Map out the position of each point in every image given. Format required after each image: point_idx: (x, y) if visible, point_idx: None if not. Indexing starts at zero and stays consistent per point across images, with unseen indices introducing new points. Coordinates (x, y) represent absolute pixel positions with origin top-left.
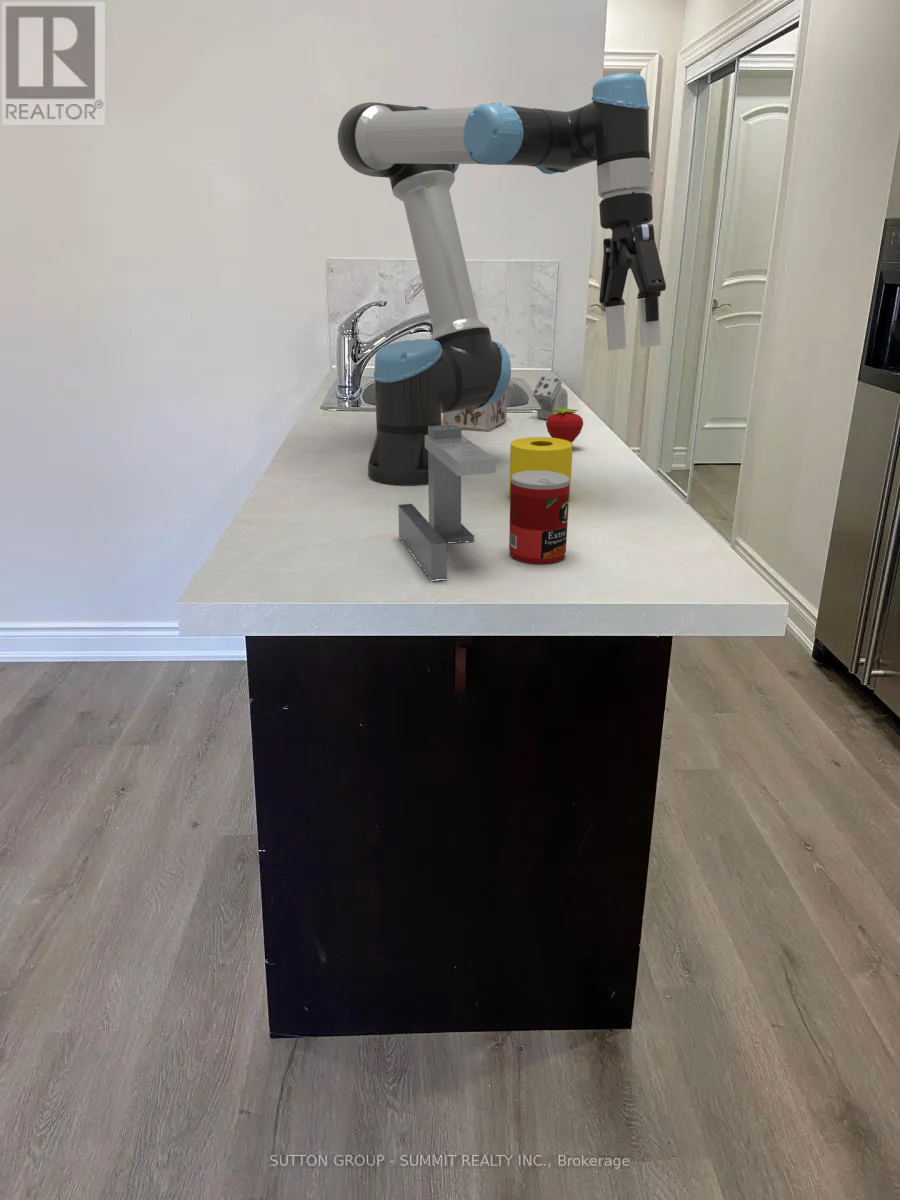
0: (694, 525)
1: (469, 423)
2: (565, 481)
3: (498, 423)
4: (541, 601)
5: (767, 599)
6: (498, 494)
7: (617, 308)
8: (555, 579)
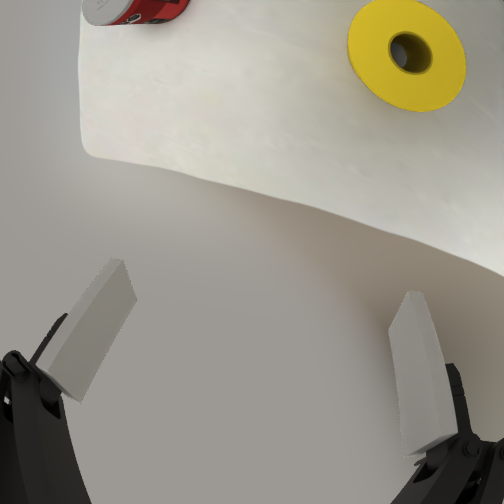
0: (237, 181)
1: None
2: (89, 22)
3: None
4: None
5: (87, 151)
6: None
7: (414, 441)
8: None
